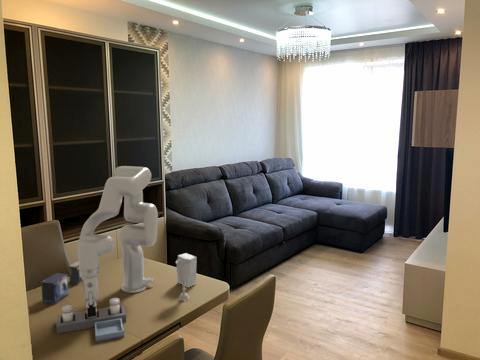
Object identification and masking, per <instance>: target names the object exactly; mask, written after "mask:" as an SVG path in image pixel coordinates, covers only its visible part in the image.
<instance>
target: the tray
mask: <svg viewBox="0 0 480 360" xmlns="http://www.w3.org/2000/svg"><path fill="white" fill-rule="evenodd" d="M123 324H124V322H122V318H119V319H114V320H108V321H102V322H96V323H95V327H94V330H95V332H94V333H95V343H100V342H103V341H109V340H115V339H120V338H124V337H125V329H124V325H123Z"/></svg>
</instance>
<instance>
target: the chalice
mask: <svg viewBox="0 0 480 360" xmlns="http://www.w3.org/2000/svg"><path fill="white" fill-rule="evenodd" d="M175 264H176V275H177V274H178V276H179V278H180V280H181V281H183V285H181V286H182V289H181V290H182V292H181V293H180V295H179V297H178V300H179V299H180V300H187V299H189V298H190V296H189V294H188V293H187V292H186V290H187V288H186V287H185V281H187V279H188V277H189V275H190V272H191V271H190V264H191V260H189V259H179V260H178V259H176V261H175ZM180 300H179V301H180ZM189 300H190V299H189Z"/></svg>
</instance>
